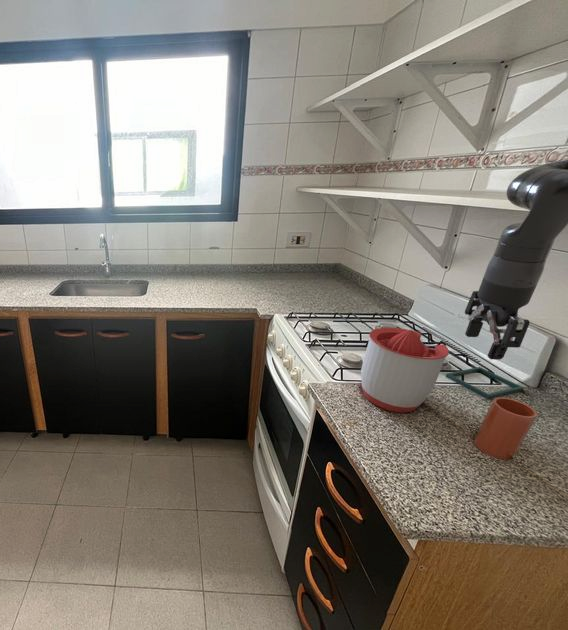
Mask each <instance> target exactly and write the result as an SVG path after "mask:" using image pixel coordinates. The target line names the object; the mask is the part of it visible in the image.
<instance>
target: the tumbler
mask: <svg viewBox="0 0 568 630" xmlns="http://www.w3.org/2000/svg"><path fill="white" fill-rule="evenodd" d="M537 417H538V412H537V411H536V409H534V408H533V407H532V406H529V405H528V404H526V403H524V402H521V401H520V400H517V399H513V398H509V397H503V396H499V397H495V398H493V400H492V402H491V404H490V406H489V408H488V410H487V412H486V414H485V416H484V418H483V420H482V422H481V425H480V426H479V428H478V431H477V433H476V435H475V437H474V439H473V444H474V446H476V448H477V449H479V450H480V451H481V452H483V453H484V454H486V455H488V456H490V457H492V458H495V459H498V460H502V461H511V460H513V459H514V455H516V454H517V453H518V451H519V449H520V448H521V446H522V444H523V442H524V441H525V438H526V437H527V435H528V433H529V432H530V430H531V428H532V426H533V425H534V422H535V421H536V419H537Z"/></svg>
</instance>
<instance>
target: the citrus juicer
mask: <svg viewBox="0 0 568 630" xmlns="http://www.w3.org/2000/svg"><path fill="white" fill-rule="evenodd" d="M422 335H423V334H422V332H419V331H415V330H413V329H406V328H400V327H377V328H375V329H372V330H371V331H369V339H368V343H367V346H366V350H365V353H364V357H363V360H362V365H361V369H360V370H361V372H360V378H361V379H360V380H361V383H360V385H361V391H362V394H363V396H364V397H365V398H366V399H367V400H368V401H369V402H371V404H373V405H375V406H377V407H379V408H382V409H384V410H386V411H388V412H394V413H403V414H404V413H410V412H413V411H415V410H416V409H418V408H419V407H420V406H422V404H423V402H425V400H426V399H427V398H428V397H429V395H430V394H431V392H433V390H434V387H435V385H436V383H437V381H438V377H439V375H440V373H441V370H442V367H443V365H444V363H445V360H446V357H448V356H449V354H450V349H449V348H448V347H447V346H446V345H445V344H444V343H442V344H438V345H435V346H434V348H429V347H428V346H426V345H425V344H423V342H422V340H421V339H422V338H421V337H422Z"/></svg>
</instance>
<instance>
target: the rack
mask: <svg viewBox="0 0 568 630" xmlns="http://www.w3.org/2000/svg"><path fill="white" fill-rule="evenodd" d="M478 372H479V373H481V374H483V375H484V376H485V375H486V376H487V377H490V378H491V379H494V380H496V381H498V382H500V383H502V384H505V385H507V386H508V387H510V388H507V389H503V390H498V391H494V392H490V393H488V392H485V391H483V390H482V389H480V388H478V387H476V386H474V385H472V384H470V383H468V382H467V381H464V380H462V378H461V379H460V378H459V377H460V376H464V375H469V374H475V373H478ZM445 378H446V379H448V380H450V381H453V382H454V383H457V384H458V385H460V386H461V387H464V388H466V389H467V390H469V391H471V392H473V393H475V394H477V395H479V396H481V397H483V398H484V399H486V400H491V399H494V398H498V397H503V396H508V395H512V394H515V393H519V392H523V391H524V389H525V387H524V386H521V385H520V384H517V383H515V382H513V381H511V380H508V379H507V378H504V377H502V376H500V375H498V374H495V373H494V372H492V371H489V370H488V369H485V368H483V367H481V366H477V367H472V368H467V369H463V370H458V371H452V372H448V373H446V374H445Z"/></svg>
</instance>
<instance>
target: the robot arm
mask: <svg viewBox="0 0 568 630" xmlns="http://www.w3.org/2000/svg"><path fill="white" fill-rule="evenodd" d="M506 198H507V200H508V201H509V202H510V204H513V205H514V206H515V207H519V208H521V209H524V210H528V214H527V215H526V217H525V218H524V219H523V221H521V222H520V221H519V222H514V223H511V224H509V225H507V226H506V227H505V228H504V229H503V231H502V232H501V234H500V237H499V239H498V241H497V244H496V248H495V250H494V253H493V255H492V257H491V258H490V260H489V262H488V263H487V267H486V269H485V272H484V274H483V277H482V279H481V283H480V285H479V288H478V290H473V291H472V292H471V295H470V297H469V300H468V302H467V305H466V307H465V310H464V314H465V316H466V315H468V317H467V320H468V321H469V322H468V325H467V327H466V330H465V332H464V335H465V336H466V337H467V338H477V337H479V335H480V333H481V330H482V328H483V325H484V322H486V323H487V325H488V326H489V332H490V333H491V334H492V336H493V342H492V344H491V346H490V348H489V350H488V354H487V358H489V360H499V361H500V360H503V358H504V357H505V355H506V353H507V350H508V348H517V349H518V348H521V346H522V344H523V341H524V338H525V336H526V334H527V331H528V328H529V326H530V320H529V319H522V318H519V316H518V312H519V310H520V309H521V308H523V307H525V306H527V305H528V304H529V303H530V301H531V299H532V297H533V296H534V295H533V294H534V293H535V290H536V288H537V286H538V283H539V282H540V280H541V277H542V275H543V272H544V270H545V266H546V262H547V259H548V257H549V255H550V253H551V251H552V248H553V246H554V243H555V242H556V239H557V238H558V237H559V235H560V234H561V233H562V232H563V231H564V230H565V229H566V228H567V227H568V159H564V160H559V161H554V162H553V161H552V162H548V163H545V164H541V165H537V166H534V167H531V168H529V169H527V170H525V171H523V172H522V173H520V174H518V175H517V176H516V177H515V178H513V180H512V181H511V182H510V183H509V185H508V187H507V188H506ZM474 307H476V308H475V309H473V308H474ZM503 327H506V328H503ZM501 334H503V336H502V338H501Z"/></svg>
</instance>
